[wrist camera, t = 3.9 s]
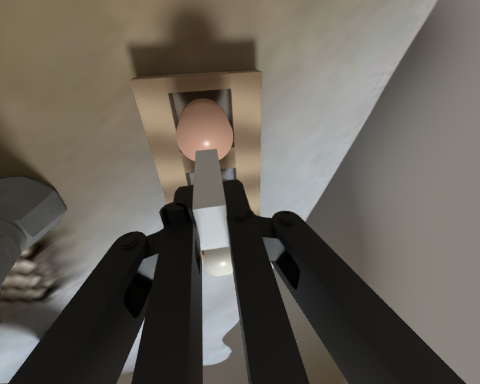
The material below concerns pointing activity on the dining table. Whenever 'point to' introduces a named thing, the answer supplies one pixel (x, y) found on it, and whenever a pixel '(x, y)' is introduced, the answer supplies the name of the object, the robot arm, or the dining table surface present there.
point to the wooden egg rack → (165, 125)
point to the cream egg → (218, 261)
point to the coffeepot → (24, 217)
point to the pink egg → (204, 128)
